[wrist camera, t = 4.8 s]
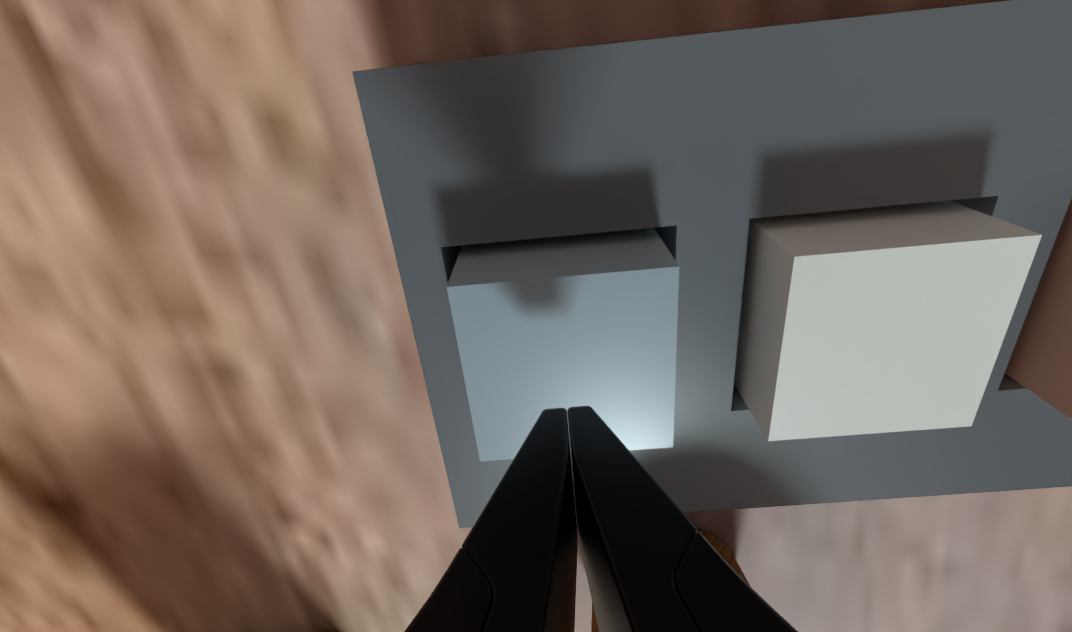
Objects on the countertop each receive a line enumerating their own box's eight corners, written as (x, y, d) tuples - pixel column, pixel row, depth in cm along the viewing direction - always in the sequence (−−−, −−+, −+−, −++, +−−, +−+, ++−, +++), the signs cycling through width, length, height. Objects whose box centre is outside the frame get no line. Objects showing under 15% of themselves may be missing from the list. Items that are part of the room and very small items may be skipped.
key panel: (1215, -23, 13) (1530, -56, 9) (1041, 383, 18) (1185, 478, 14) (407, 65, 13) (352, 71, 9) (475, 426, 19) (459, 528, 15)
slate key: (640, 207, 13) (678, 266, 10) (641, 354, 15) (673, 447, 12) (470, 223, 13) (446, 287, 10) (492, 366, 15) (480, 461, 12)
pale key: (902, 183, 13) (1042, 234, 9) (867, 336, 15) (971, 426, 11) (724, 200, 13) (794, 256, 10) (713, 348, 15) (768, 441, 12)
